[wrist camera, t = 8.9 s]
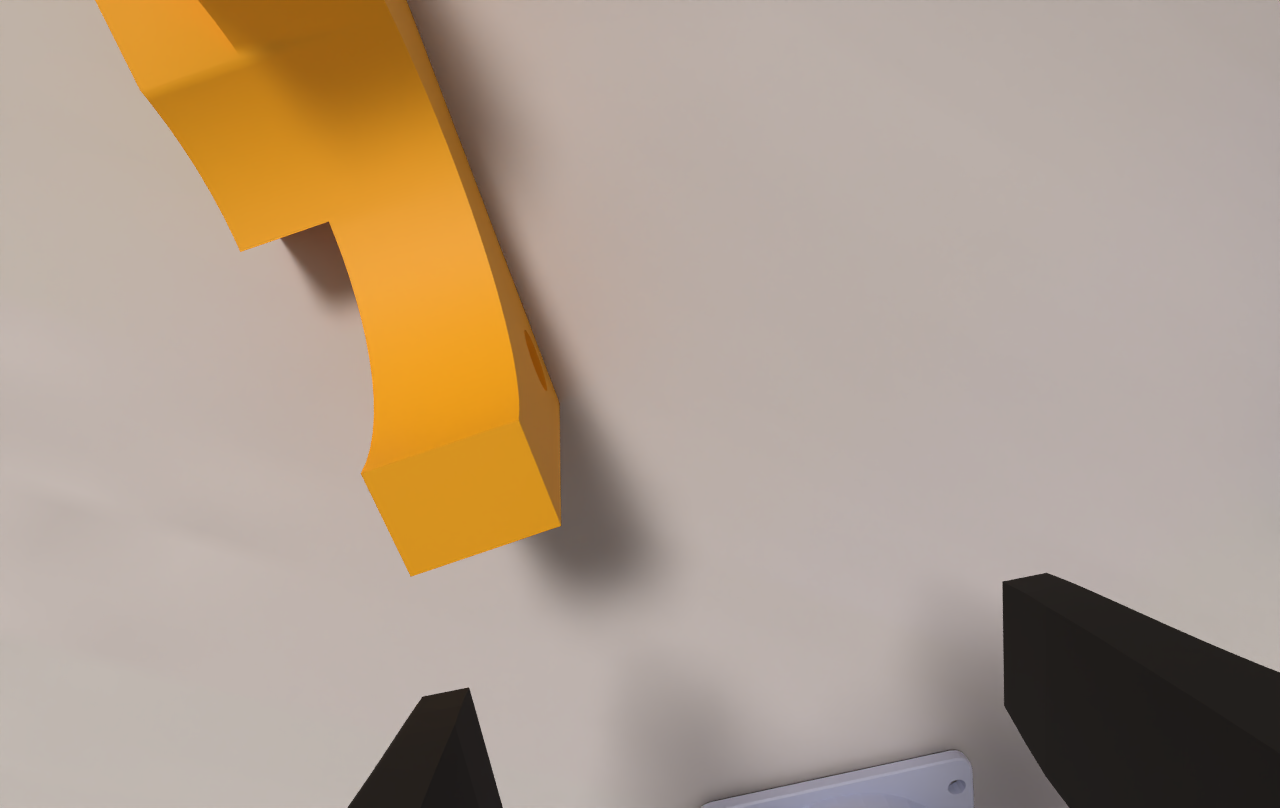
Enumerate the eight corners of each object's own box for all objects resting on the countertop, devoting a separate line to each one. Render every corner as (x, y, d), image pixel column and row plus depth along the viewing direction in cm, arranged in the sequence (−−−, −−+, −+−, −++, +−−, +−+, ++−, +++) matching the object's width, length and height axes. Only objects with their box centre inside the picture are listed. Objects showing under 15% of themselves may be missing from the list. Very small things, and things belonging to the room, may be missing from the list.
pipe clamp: (127, -93, 15) (-153, -238, 9) (343, -168, 15) (204, -364, 9) (386, 459, 19) (309, 610, 13) (559, 401, 19) (561, 525, 13)
